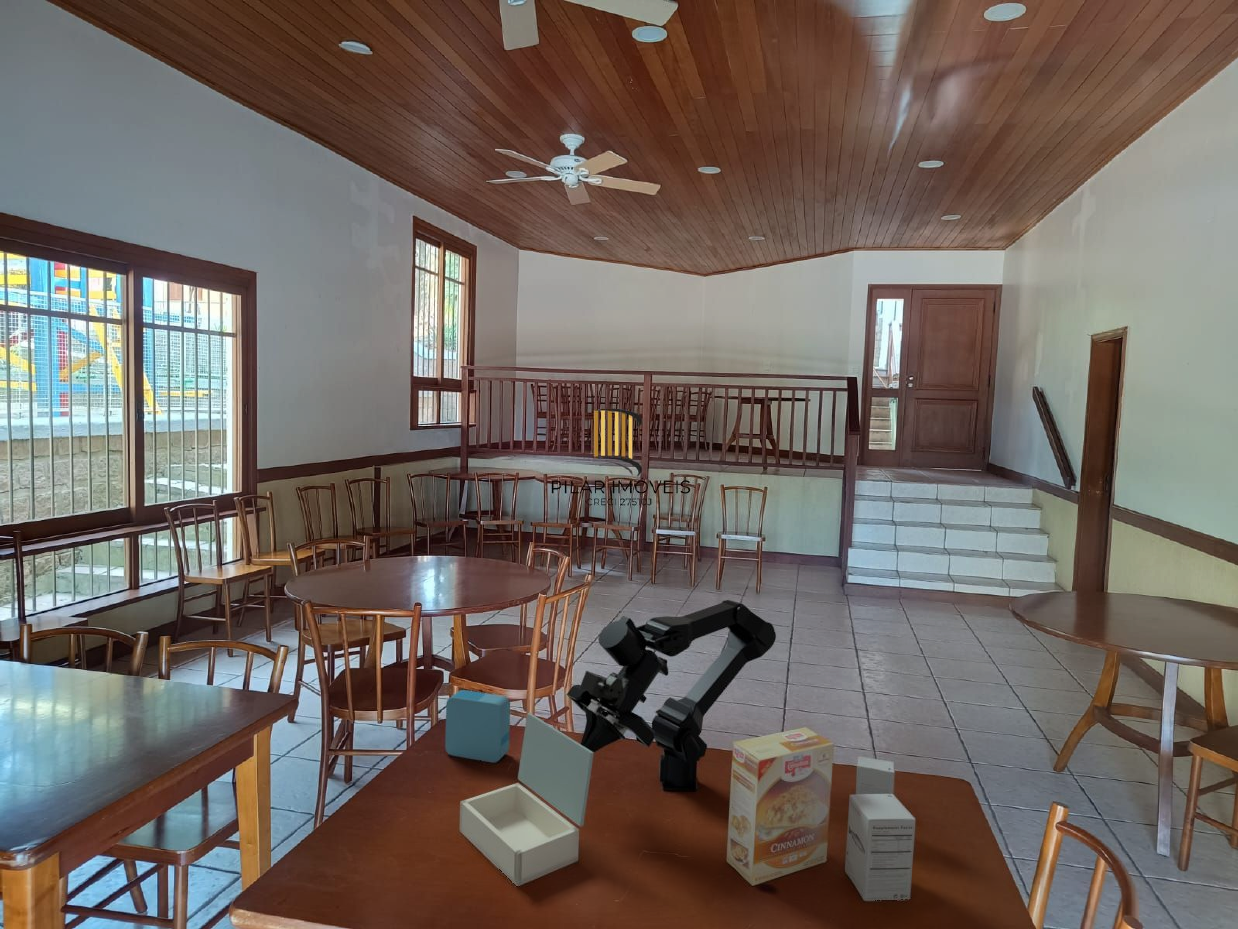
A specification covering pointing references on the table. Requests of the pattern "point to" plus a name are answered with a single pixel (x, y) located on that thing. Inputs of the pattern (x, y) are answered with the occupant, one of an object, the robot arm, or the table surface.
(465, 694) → the blue rounded square block
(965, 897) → the table surface
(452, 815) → the table surface
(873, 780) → the skincare box
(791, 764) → the coffeecake box
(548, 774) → the box lid
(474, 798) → the cream box
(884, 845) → the supplement box
